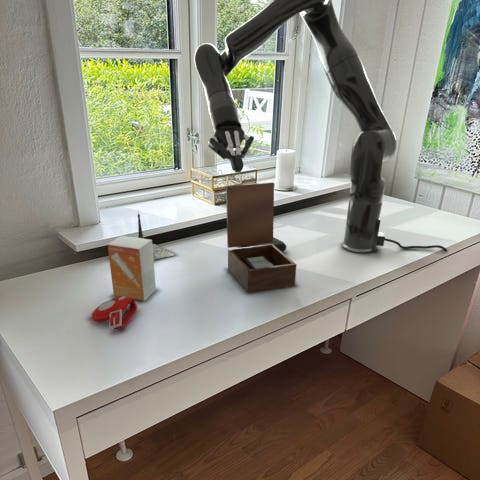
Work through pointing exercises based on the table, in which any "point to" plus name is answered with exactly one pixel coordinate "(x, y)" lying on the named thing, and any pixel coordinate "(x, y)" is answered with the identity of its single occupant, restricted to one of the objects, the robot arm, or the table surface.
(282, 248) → the carrying case
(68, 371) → the table surface
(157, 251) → the eiffel tower figurine
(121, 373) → the table surface
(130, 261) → the small box
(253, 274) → the case
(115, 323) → the tracker holder
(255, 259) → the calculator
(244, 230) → the cover
